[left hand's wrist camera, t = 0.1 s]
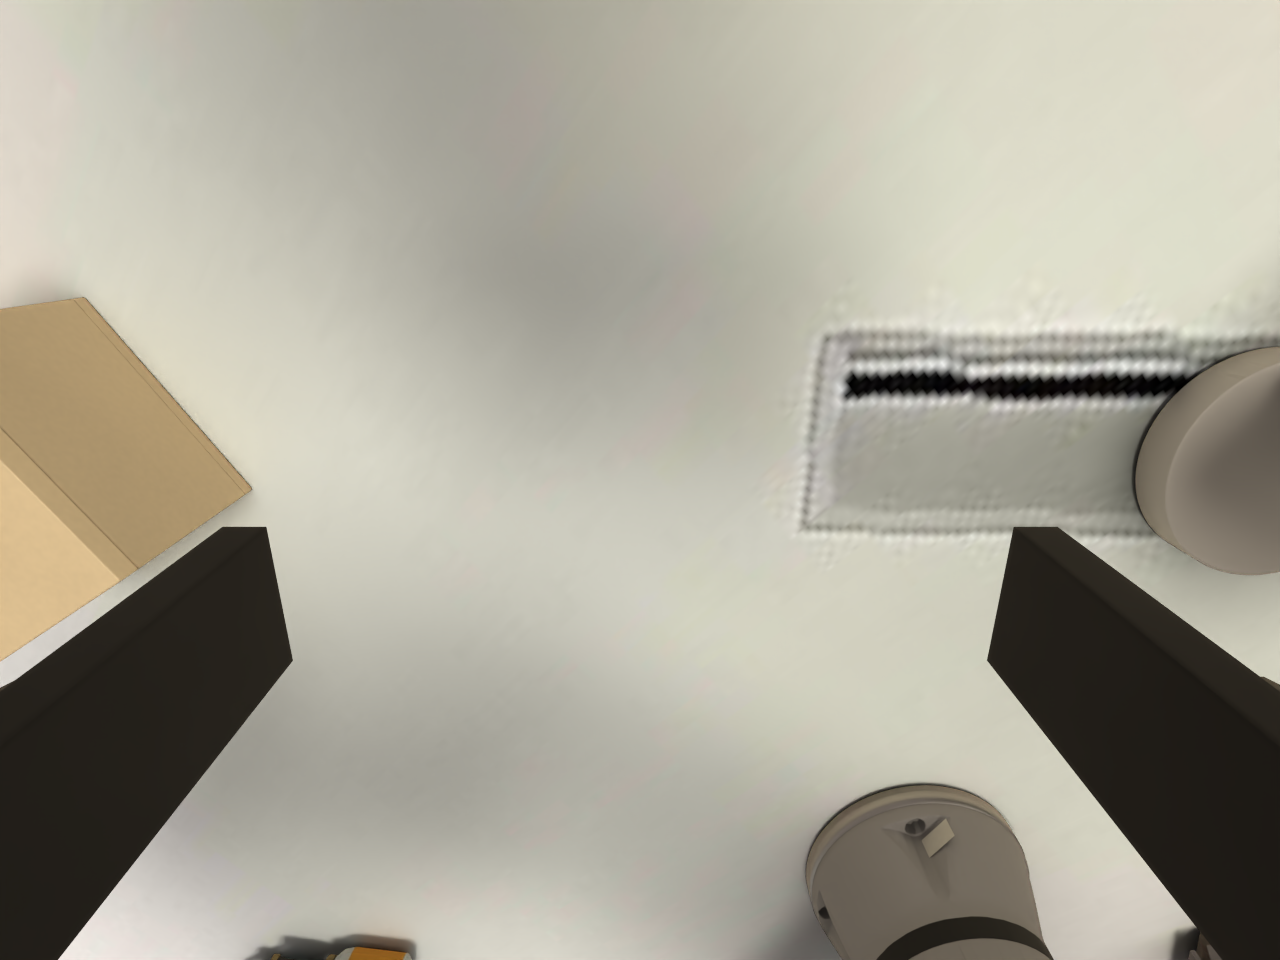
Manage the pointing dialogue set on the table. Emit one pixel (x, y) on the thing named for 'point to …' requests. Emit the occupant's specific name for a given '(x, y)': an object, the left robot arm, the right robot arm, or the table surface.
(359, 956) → the spray gun
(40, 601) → the lid
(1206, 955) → the toy
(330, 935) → the table surface
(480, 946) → the table surface
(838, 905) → the right robot arm
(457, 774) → the table surface
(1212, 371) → the bust sculpture
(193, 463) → the chest
